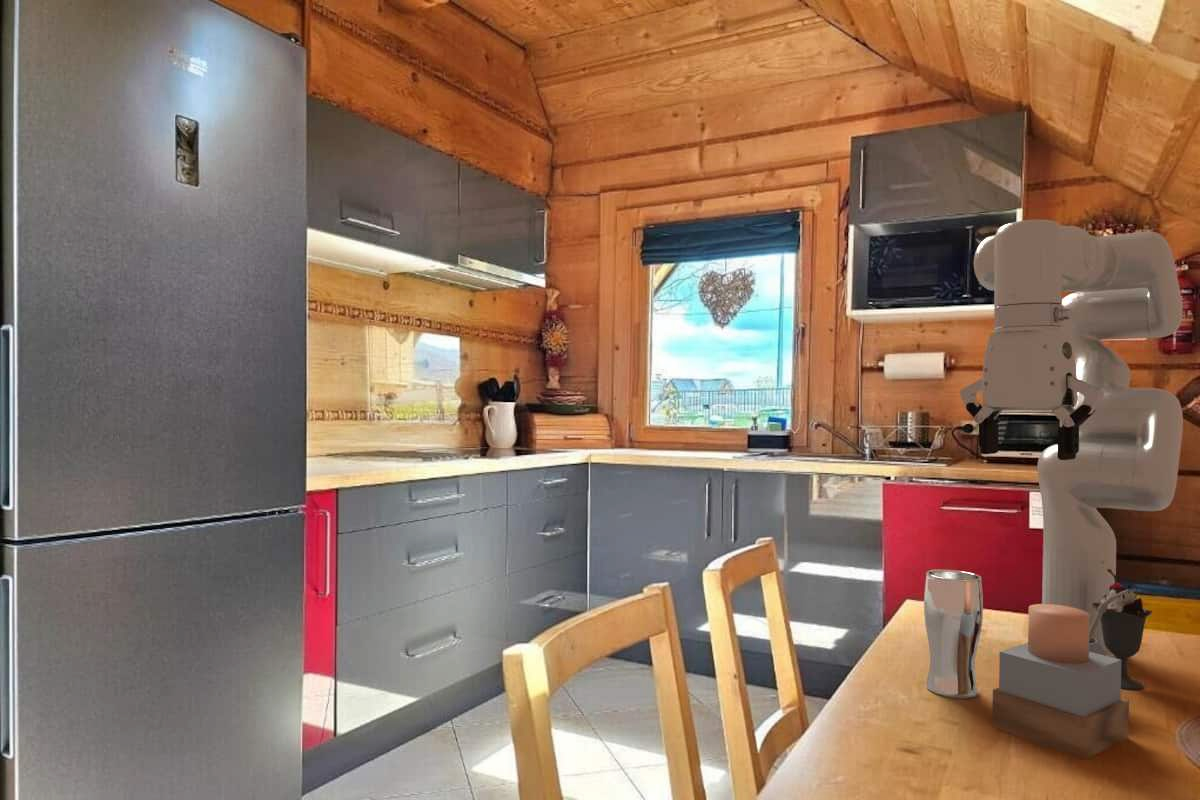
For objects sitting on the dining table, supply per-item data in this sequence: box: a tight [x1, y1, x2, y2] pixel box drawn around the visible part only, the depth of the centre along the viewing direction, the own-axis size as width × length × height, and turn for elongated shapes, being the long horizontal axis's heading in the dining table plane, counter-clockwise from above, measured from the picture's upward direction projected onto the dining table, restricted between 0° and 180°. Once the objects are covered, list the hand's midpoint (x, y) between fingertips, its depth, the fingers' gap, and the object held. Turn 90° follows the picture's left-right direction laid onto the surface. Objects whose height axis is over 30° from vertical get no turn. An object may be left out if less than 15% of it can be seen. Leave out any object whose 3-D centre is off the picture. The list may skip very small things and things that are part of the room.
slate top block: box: [998, 642, 1122, 717], centre depth 90 cm, size 9×9×4 cm
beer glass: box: [923, 569, 984, 700], centre depth 102 cm, size 7×7×15 cm
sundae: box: [1092, 569, 1153, 691], centre depth 106 cm, size 7×7×15 cm
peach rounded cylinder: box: [1027, 603, 1090, 664], centre depth 90 cm, size 6×6×5 cm
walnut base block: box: [991, 687, 1130, 761], centre depth 90 cm, size 10×10×4 cm
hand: (1026, 456), depth 100 cm, fingers open, 9 cm apart
